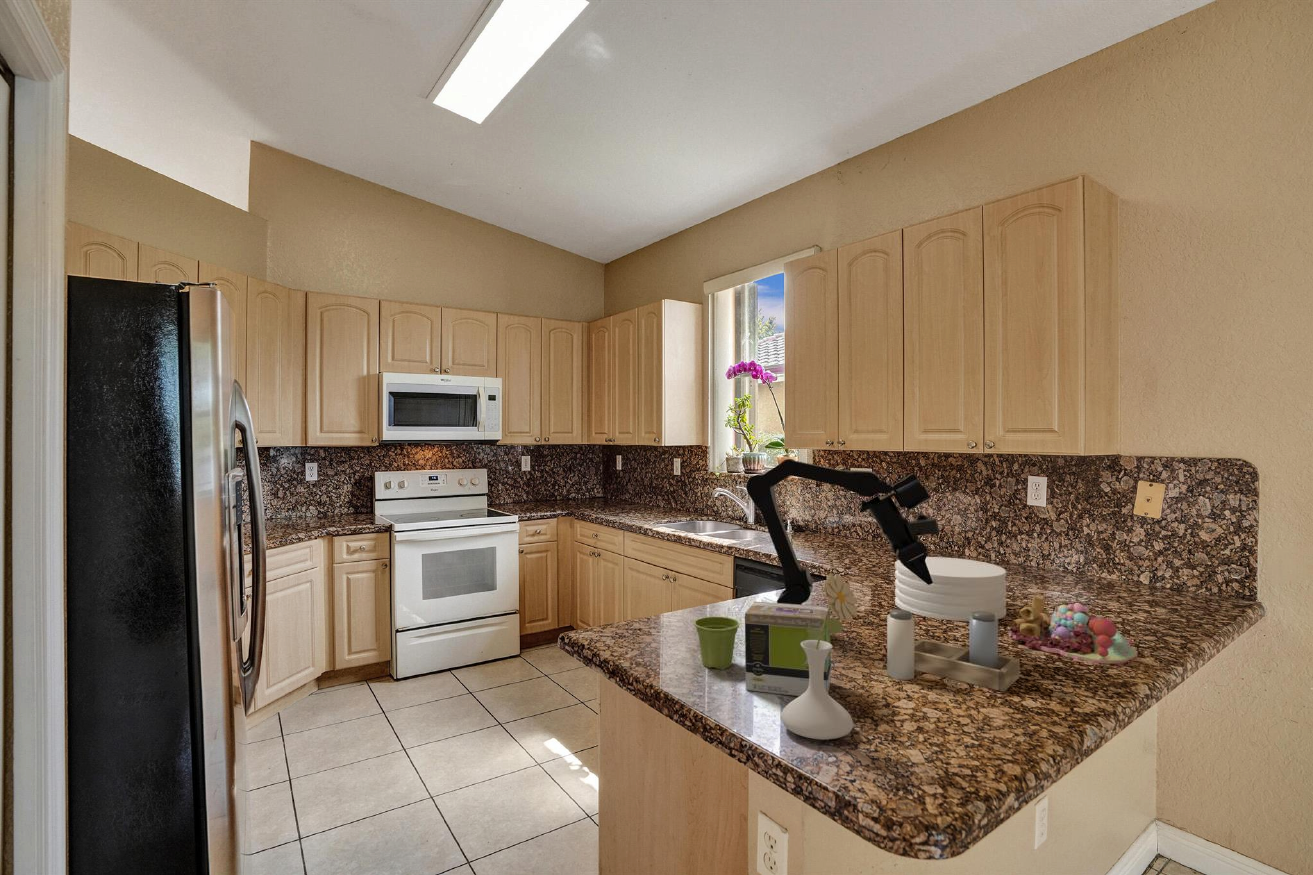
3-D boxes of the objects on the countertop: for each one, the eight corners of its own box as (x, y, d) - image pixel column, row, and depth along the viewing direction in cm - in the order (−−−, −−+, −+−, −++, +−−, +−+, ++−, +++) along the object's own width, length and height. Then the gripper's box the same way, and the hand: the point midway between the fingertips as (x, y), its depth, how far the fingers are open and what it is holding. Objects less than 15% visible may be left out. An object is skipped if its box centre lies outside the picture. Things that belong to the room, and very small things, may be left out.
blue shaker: (981, 683, 123) (981, 618, 123) (963, 673, 128) (963, 611, 128) (1004, 681, 124) (1003, 616, 124) (986, 672, 129) (985, 609, 129)
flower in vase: (809, 753, 96) (809, 585, 96) (766, 722, 106) (766, 571, 106) (877, 736, 101) (877, 578, 101) (830, 708, 112) (830, 564, 111)
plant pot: (709, 675, 127) (709, 631, 127) (685, 660, 136) (685, 619, 136) (748, 667, 132) (748, 625, 132) (723, 653, 140) (723, 614, 140)
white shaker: (896, 680, 124) (896, 616, 124) (882, 671, 129) (882, 609, 129) (919, 678, 125) (919, 614, 125) (905, 669, 130) (904, 608, 130)
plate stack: (922, 590, 198) (922, 553, 198) (1021, 608, 178) (1021, 566, 178) (876, 606, 179) (876, 565, 179) (981, 628, 159) (981, 582, 159)
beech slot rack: (902, 666, 132) (902, 649, 132) (921, 654, 139) (921, 638, 139) (1004, 691, 119) (1004, 672, 119) (1019, 677, 126) (1019, 659, 126)
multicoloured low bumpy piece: (995, 644, 147) (995, 604, 147) (1022, 622, 164) (1022, 586, 164) (1130, 671, 130) (1130, 626, 130) (1144, 644, 147) (1144, 603, 147)
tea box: (831, 681, 124) (831, 605, 124) (827, 702, 115) (827, 619, 115) (753, 672, 129) (753, 598, 129) (744, 691, 119) (743, 611, 119)
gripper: (928, 505, 138) (969, 570, 136) (916, 500, 156) (953, 557, 154) (881, 530, 140) (921, 594, 138) (875, 522, 158) (910, 579, 156)
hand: (927, 580), depth 146 cm, fingers open, 9 cm apart
